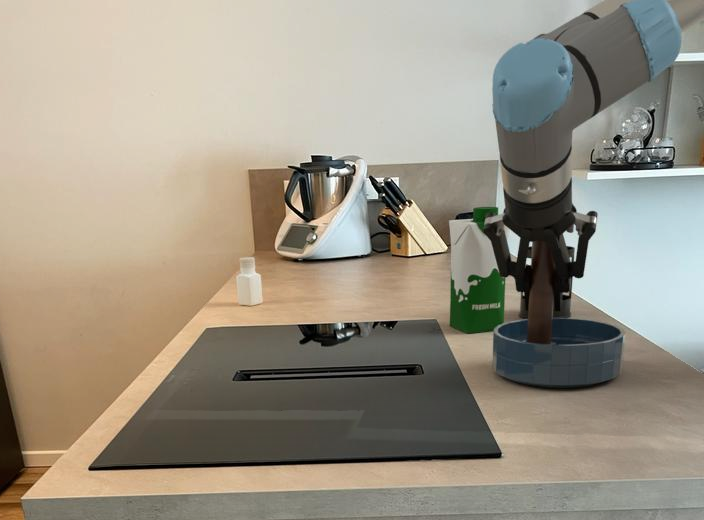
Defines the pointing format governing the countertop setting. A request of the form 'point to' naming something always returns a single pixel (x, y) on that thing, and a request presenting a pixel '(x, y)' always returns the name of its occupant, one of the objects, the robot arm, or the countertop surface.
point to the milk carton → (475, 276)
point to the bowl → (559, 353)
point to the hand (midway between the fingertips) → (544, 302)
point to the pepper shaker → (249, 283)
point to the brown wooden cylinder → (541, 294)
